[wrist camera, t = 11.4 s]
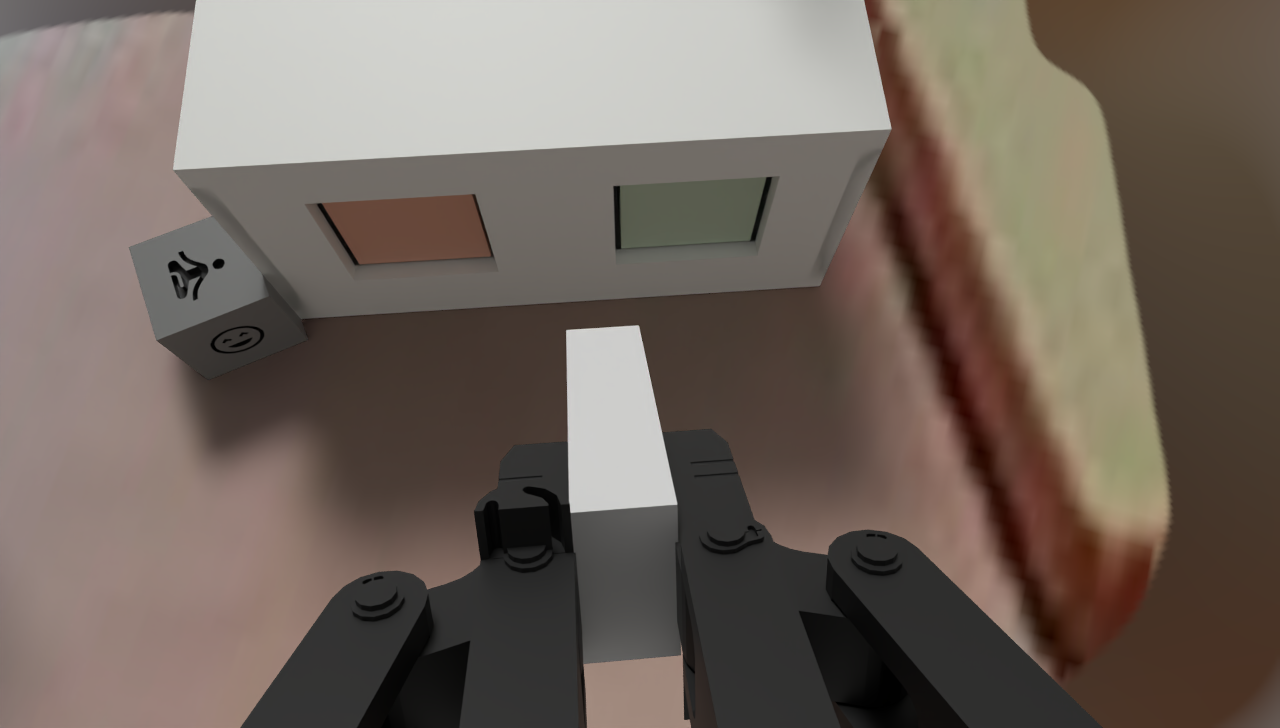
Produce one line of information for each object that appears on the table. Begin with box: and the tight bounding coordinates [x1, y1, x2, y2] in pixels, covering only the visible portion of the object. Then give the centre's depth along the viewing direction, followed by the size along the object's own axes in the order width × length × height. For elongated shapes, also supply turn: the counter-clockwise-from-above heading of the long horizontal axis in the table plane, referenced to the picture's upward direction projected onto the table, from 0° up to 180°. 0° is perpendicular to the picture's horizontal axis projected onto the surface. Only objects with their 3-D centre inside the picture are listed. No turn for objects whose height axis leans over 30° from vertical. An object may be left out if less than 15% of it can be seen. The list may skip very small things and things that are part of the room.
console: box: [173, 0, 891, 319], centre depth 39 cm, size 26×10×13 cm, turn 94°
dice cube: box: [129, 216, 308, 380], centre depth 41 cm, size 5×5×5 cm
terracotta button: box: [322, 194, 491, 264], centre depth 39 cm, size 6×7×6 cm
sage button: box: [617, 177, 766, 248], centre depth 39 cm, size 6×7×6 cm
